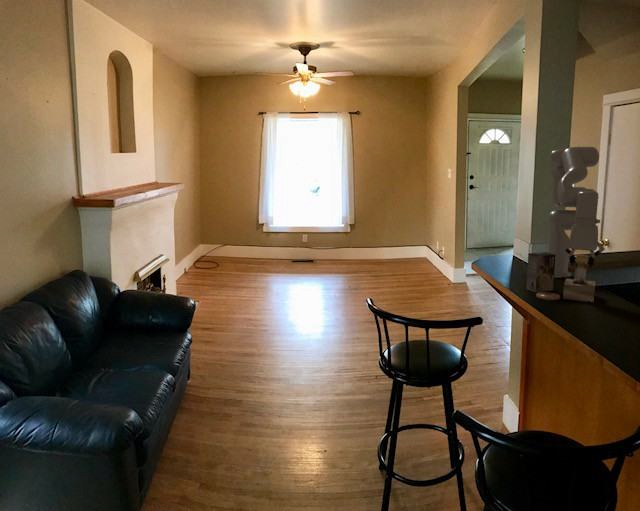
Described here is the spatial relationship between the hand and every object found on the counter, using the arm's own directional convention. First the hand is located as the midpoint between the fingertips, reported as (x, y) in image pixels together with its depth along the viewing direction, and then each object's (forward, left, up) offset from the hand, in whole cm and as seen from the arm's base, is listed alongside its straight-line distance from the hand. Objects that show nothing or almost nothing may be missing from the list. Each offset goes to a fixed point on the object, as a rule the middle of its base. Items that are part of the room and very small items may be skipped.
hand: (581, 265), depth 208 cm
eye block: (0, 0, -13) cm, 13 cm away
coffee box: (-5, -15, -13) cm, 21 cm away
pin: (0, 0, -9) cm, 9 cm away
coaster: (+6, -11, -13) cm, 18 cm away
